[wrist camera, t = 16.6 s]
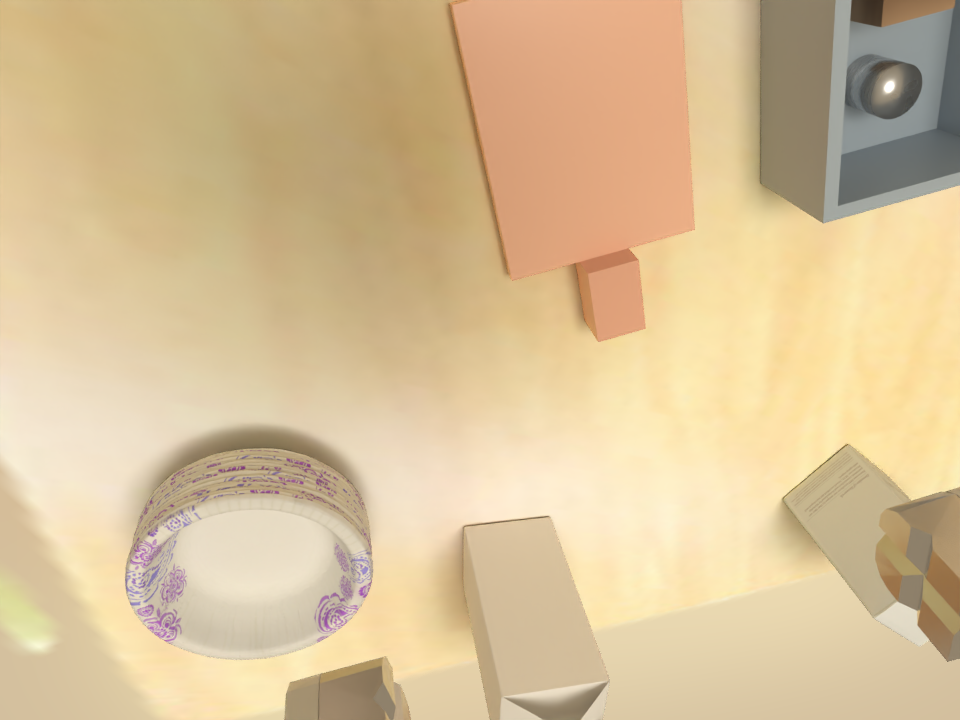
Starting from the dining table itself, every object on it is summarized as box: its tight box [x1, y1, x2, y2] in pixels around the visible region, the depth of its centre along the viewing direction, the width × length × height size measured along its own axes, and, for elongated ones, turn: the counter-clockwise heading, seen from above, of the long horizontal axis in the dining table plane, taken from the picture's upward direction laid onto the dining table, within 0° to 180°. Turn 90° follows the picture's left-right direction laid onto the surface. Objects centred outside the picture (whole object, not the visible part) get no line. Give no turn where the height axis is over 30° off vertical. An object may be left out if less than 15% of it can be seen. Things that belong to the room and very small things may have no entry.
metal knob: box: [845, 54, 922, 120], centre depth 42 cm, size 3×3×3 cm
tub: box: [760, 0, 960, 223], centre depth 39 cm, size 16×12×7 cm
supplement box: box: [784, 445, 929, 646], centre depth 58 cm, size 7×7×13 cm
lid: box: [449, 0, 695, 342], centre depth 42 cm, size 21×12×3 cm, turn 12°
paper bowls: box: [125, 448, 373, 660], centre depth 49 cm, size 15×15×8 cm
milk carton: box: [463, 517, 609, 720], centre depth 52 cm, size 7×7×19 cm
